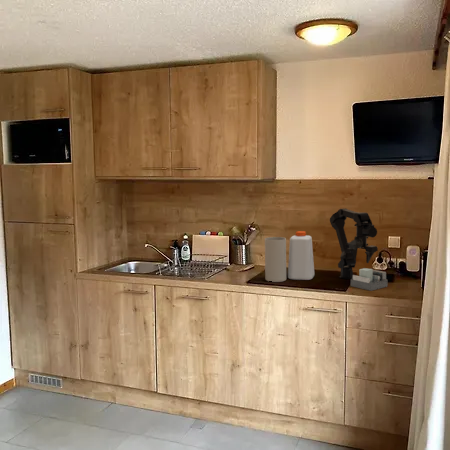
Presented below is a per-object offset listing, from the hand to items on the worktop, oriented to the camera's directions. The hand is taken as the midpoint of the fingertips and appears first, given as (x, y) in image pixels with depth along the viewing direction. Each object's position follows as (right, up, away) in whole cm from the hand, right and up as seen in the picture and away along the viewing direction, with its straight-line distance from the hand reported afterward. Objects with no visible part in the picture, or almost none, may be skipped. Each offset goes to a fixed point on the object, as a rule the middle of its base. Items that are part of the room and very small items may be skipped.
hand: (360, 261), depth 286 cm
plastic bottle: (-31, -11, +19) cm, 38 cm away
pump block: (0, -9, -9) cm, 13 cm away
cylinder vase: (-47, -12, +14) cm, 51 cm away
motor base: (+2, -13, -7) cm, 15 cm away
